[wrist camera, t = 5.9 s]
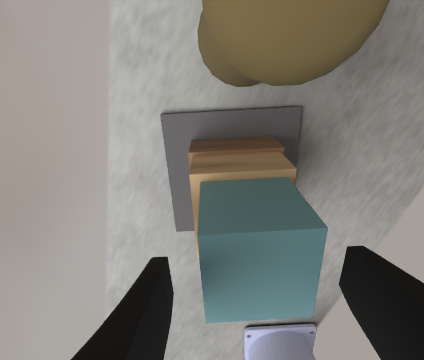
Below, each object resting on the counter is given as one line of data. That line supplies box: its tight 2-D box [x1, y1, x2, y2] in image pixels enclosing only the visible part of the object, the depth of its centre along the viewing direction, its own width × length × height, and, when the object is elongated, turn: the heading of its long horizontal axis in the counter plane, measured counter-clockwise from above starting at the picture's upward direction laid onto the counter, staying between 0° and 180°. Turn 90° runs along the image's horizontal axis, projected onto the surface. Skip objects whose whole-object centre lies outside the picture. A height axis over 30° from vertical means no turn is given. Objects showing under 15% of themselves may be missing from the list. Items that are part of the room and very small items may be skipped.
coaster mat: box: [160, 106, 302, 232], centre depth 19 cm, size 10×10×1 cm
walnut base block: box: [188, 136, 284, 168], centre depth 17 cm, size 6×6×3 cm
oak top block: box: [189, 152, 297, 258], centre depth 15 cm, size 6×6×3 cm
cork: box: [198, 0, 390, 87], centre depth 10 cm, size 6×6×11 cm
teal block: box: [197, 177, 328, 323], centre depth 11 cm, size 4×4×4 cm
